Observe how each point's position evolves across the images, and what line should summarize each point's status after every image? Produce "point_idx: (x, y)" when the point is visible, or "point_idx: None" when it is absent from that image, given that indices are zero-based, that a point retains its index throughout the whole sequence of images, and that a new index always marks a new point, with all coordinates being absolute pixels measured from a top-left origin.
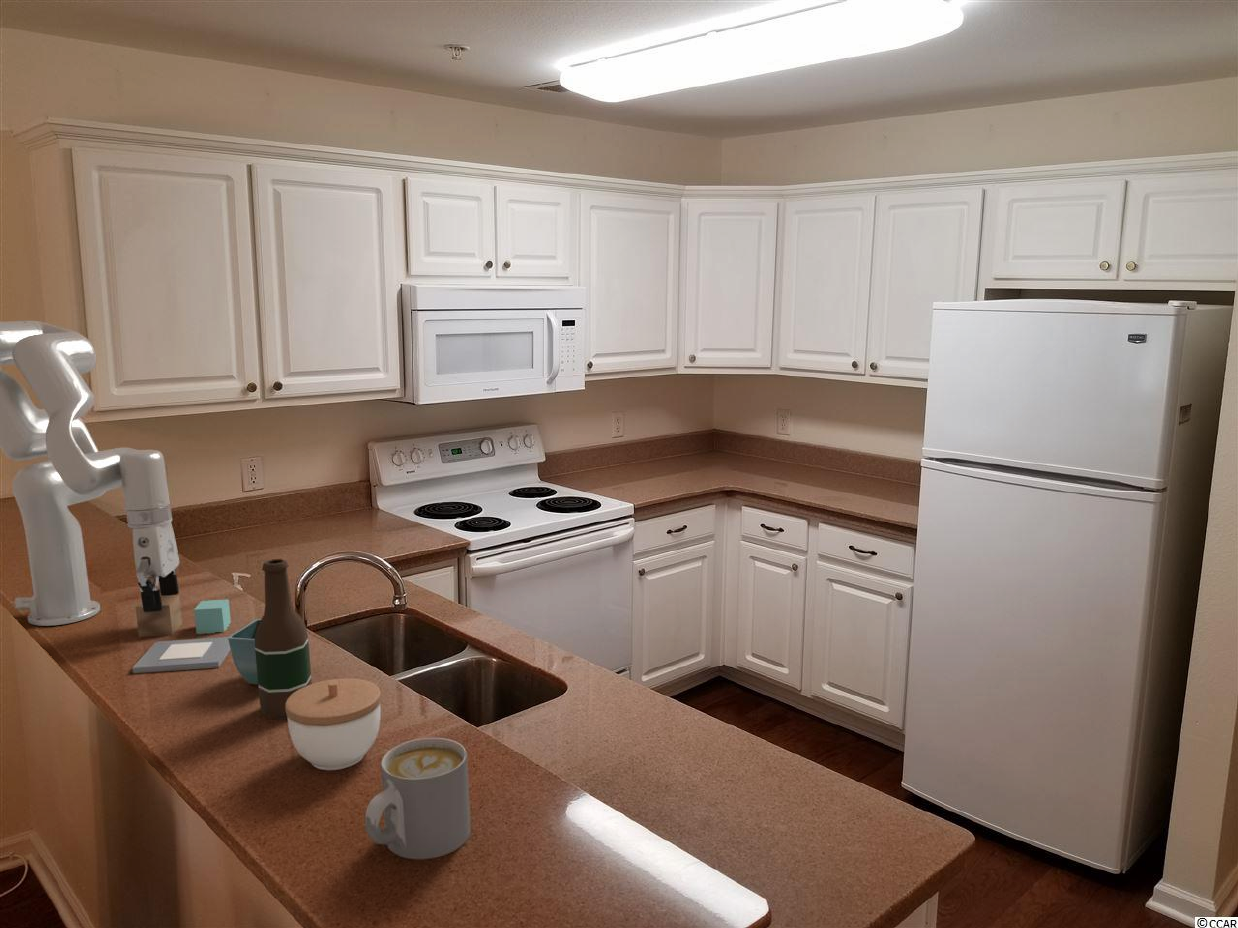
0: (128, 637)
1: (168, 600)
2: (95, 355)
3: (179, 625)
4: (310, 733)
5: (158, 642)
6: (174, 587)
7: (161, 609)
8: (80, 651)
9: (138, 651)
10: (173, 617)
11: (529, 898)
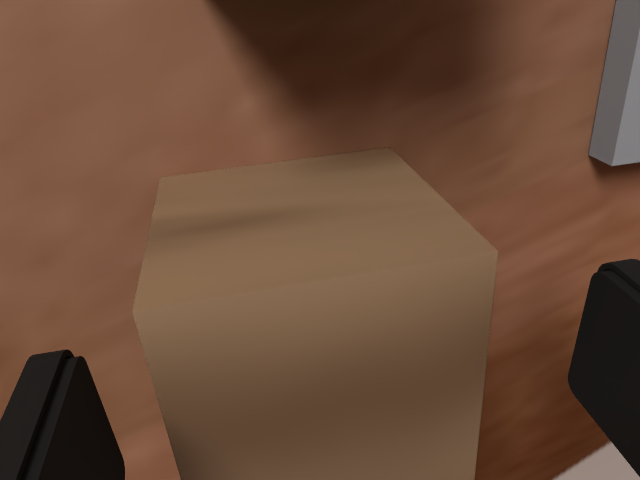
0: None
1: (333, 328)
2: None
3: (224, 171)
4: None
5: (632, 141)
6: (67, 434)
7: (633, 259)
8: (528, 461)
9: (623, 223)
10: (362, 195)
11: None
